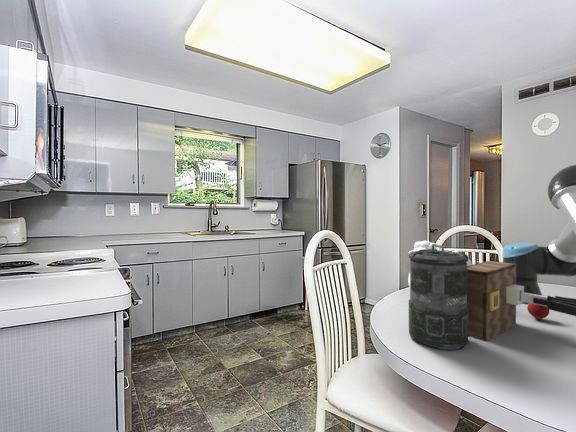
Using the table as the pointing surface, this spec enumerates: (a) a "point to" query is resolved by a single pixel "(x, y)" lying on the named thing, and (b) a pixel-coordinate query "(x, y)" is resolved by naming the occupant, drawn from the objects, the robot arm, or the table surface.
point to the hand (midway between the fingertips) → (521, 296)
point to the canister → (438, 298)
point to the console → (478, 298)
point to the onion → (538, 311)
